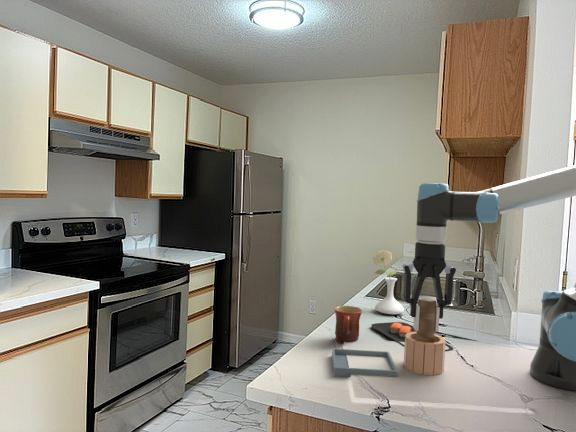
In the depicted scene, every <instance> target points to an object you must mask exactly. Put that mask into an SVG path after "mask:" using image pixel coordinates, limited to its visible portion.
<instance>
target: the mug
mask: <svg viewBox="0 0 576 432" xmlns="http://www.w3.org/2000/svg"><path fill="white" fill-rule="evenodd" d="M333 310H334V313H335V314H334V315H335V319H336V320H335V331H334V334H335V340H336V341H337V342H338V343H340V344H343V345H345V343H353V342H357V341H358V340H359V336H360V320H361V316H362V313H363V309H362V308H360V307H356V306H353V305H338V306H335V307H334V308H333Z"/></svg>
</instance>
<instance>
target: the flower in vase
mask: <svg viewBox="0 0 576 432" xmlns="http://www.w3.org/2000/svg"><path fill="white" fill-rule="evenodd" d="M372 260H373V264H375V265H378V266H380V267H383V266H384V269H381V268H380V269H377V270H376V271H375V272H374V274H376V275H380V276H382V275H384V274H386V275H387V276H386V277H384V280H385V282H386V286H387V292H386V296H385V298H383V299H382V300H380V301H378V303H376V305H375V306H374V309H375V310H376V311H377V312H379V313H381V314H385V315H386V314H387V315H399V314H402V313H404V311H405V308H404V306H403V305H402V304H401V303H400V302H399V301H398V300H396V298H395V297H394V289H395V288H394V287H395V284H396V282H397V281H398V278H397V277H393V275H395V274H396V273H397V272H398V269H395V270H391V271H389V272H387V270H386V266H387V265H389V264H390V263H391V262H392V261H393V254H392V252H391V251H389V250H386V249H384V250H382V249H381V250H380V251H377V252H376V253H375V254H374V256H373V258H372ZM390 276H392V277H390Z"/></svg>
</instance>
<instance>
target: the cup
mask: <svg viewBox="0 0 576 432" xmlns="http://www.w3.org/2000/svg"><path fill="white" fill-rule="evenodd" d="M416 336H417V332H409V333H407V334H406V335H405V342H404V345H405V347H404V346H403V347H404V349H403V350H404V351H403V366H404V368H405V369H406V370H408V371H410V372H411V373H414V374H418V375H422V376H423V375H424V376H438V375H441V374H443V372H445V358H446V351H445V350H446V345H445V343H446V339H445V337H443V336H440V335H439V334H437V333H435V334H434V343H429V342H421V341H417V340H416ZM446 344H447V343H446Z"/></svg>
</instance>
